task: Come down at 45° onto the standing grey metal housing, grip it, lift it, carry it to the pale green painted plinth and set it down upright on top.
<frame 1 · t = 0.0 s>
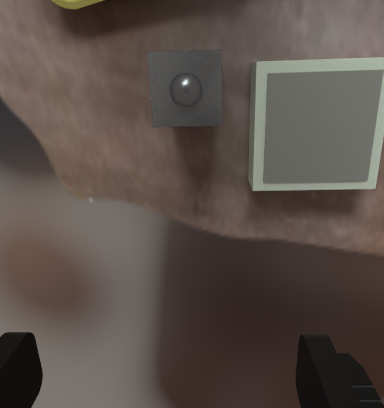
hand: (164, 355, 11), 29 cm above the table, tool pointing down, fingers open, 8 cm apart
stand: (307, 123, 37), on the table
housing: (191, 86, 36), on the table
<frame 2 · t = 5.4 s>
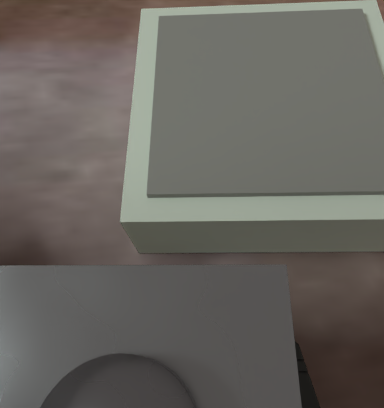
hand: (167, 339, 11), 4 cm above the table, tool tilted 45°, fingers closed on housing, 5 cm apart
stand: (255, 146, 19), on the table
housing: (177, 394, 14), on the table, touching gripper
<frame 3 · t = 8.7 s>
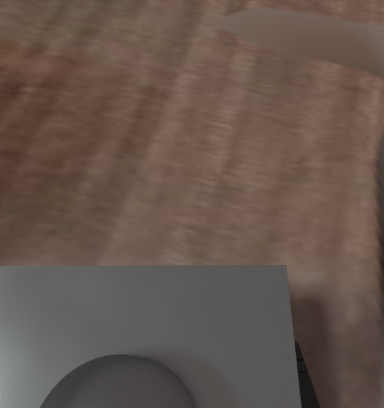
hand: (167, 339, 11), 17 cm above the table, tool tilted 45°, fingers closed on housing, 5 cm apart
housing: (177, 395, 14), point 13 cm above the table, touching gripper
when the fingers open (9 cm above the table, at t = 10.6 s): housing stays where it is, resting on stand.
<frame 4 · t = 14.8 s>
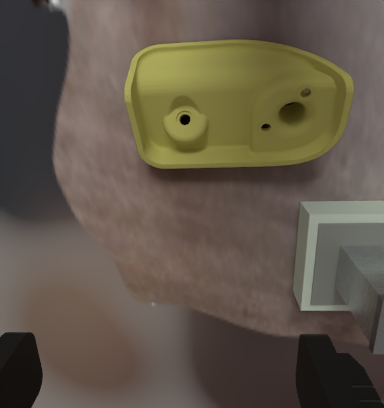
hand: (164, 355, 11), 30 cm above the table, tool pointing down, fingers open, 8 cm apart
stand: (346, 248, 42), on the table
plastic component: (229, 108, 38), on the table
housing: (360, 266, 38), point 4 cm above the table, touching stand
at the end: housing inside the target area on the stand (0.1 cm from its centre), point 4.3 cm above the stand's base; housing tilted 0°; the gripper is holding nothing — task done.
